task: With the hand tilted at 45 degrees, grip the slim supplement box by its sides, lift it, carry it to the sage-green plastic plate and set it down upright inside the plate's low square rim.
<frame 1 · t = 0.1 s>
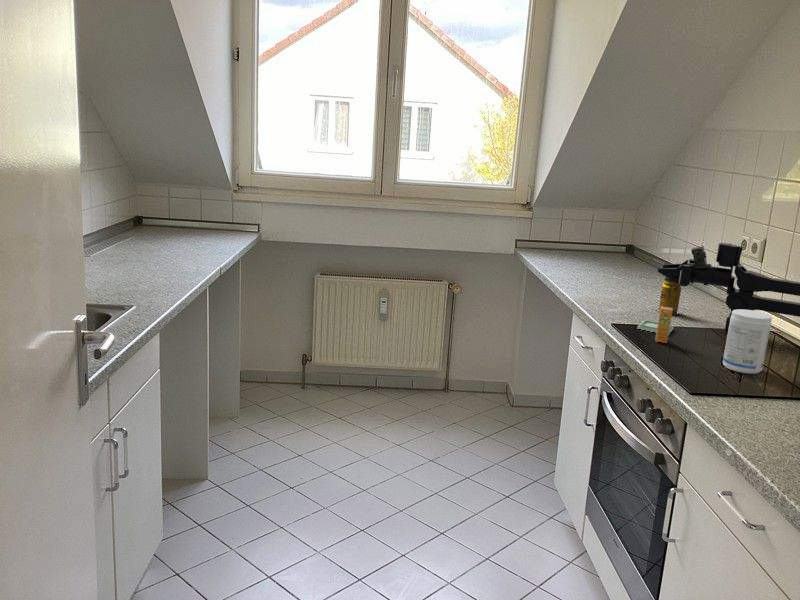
hand: (660, 268, 237), 17 cm above the worktop, tool horizontal, fingers open, 9 cm apart
supplement box: (660, 342, 213), on the worktop
supplement tub: (741, 369, 194), on the worktop
plate: (655, 329, 227), on the worktop
condiment: (670, 313, 252), on the worktop
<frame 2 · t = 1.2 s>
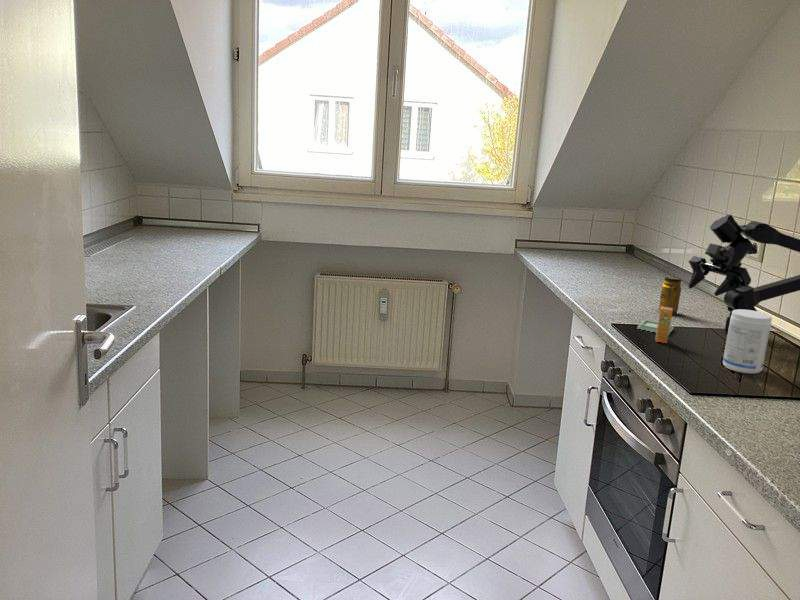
hand: (702, 291, 220), 14 cm above the worktop, tool tilted 45°, fingers open, 9 cm apart
nothing on the worktop moved.
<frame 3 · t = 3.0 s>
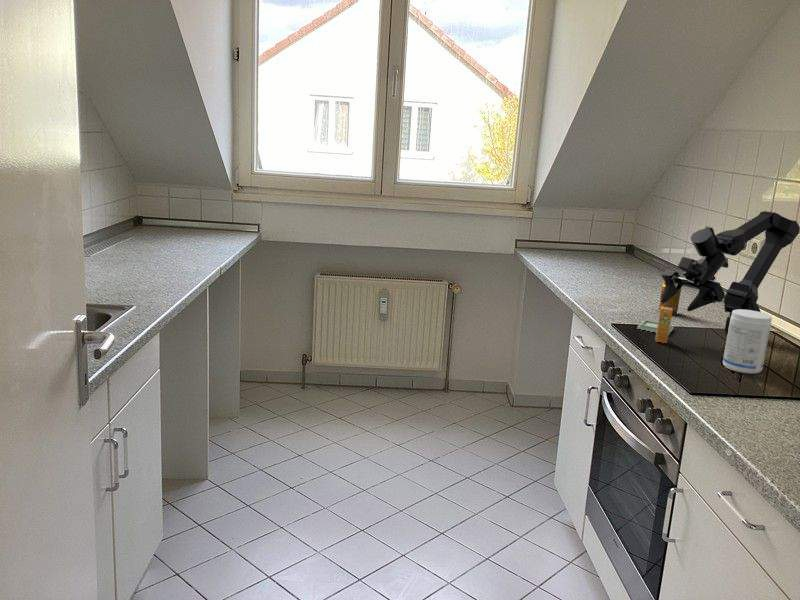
hand: (674, 306, 213), 10 cm above the worktop, tool tilted 45°, fingers open, 9 cm apart
nothing on the worktop moved.
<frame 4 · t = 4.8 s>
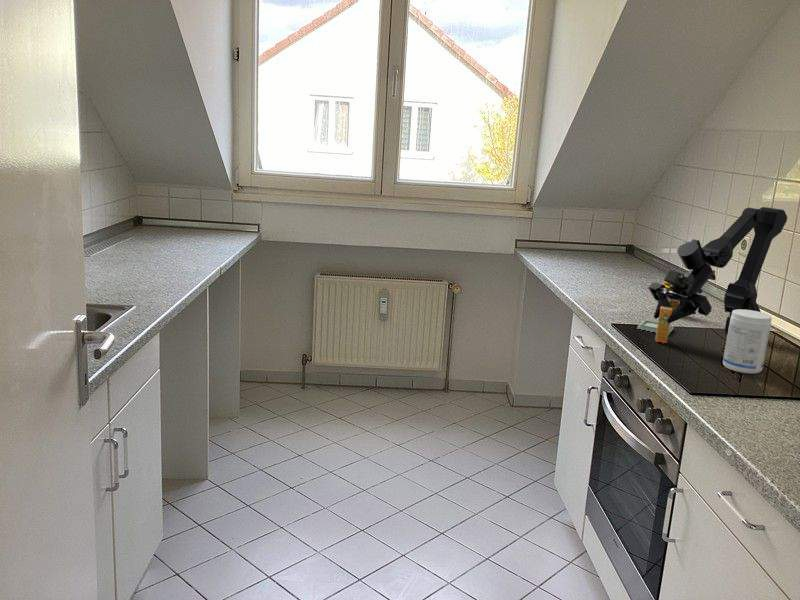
hand: (661, 319, 211), 7 cm above the worktop, tool tilted 45°, fingers closed on supplement box, 4 cm apart
supplement box: (660, 342, 213), on the worktop, touching gripper
everything else where it was.
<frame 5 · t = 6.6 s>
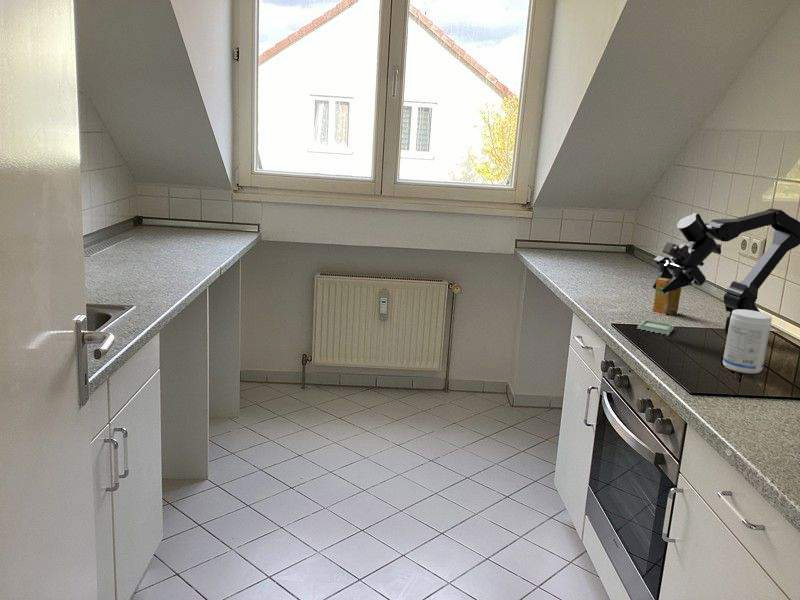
hand: (658, 289, 219), 13 cm above the worktop, tool tilted 45°, fingers closed on supplement box, 4 cm apart
supplement box: (659, 312, 221), point 6 cm above the worktop, touching gripper
everything else where it was.
when the fingers open (8 cm above the worktop, at t = 8.5 s): supplement box stays where it is, resting on plate.
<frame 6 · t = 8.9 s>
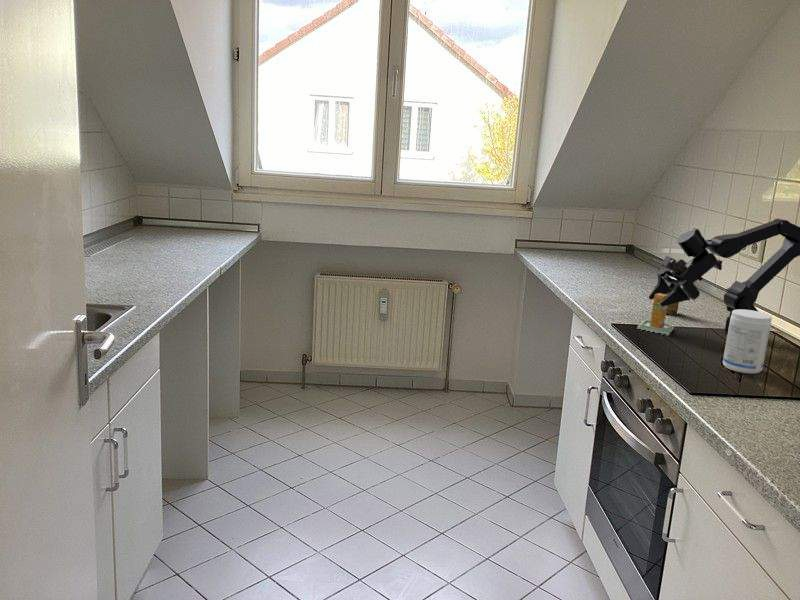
hand: (655, 301, 225), 9 cm above the worktop, tool tilted 45°, fingers open, 8 cm apart
supplement box: (656, 327, 227), point 1 cm above the worktop, touching plate
everything else where it was.
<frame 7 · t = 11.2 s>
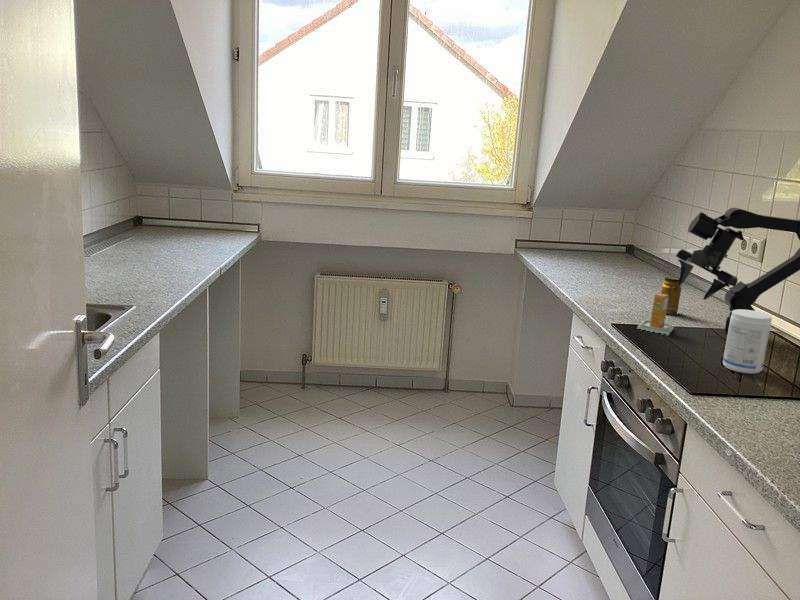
hand: (691, 292, 229), 11 cm above the worktop, tool tilted 20°, fingers open, 9 cm apart
nothing on the worktop moved.
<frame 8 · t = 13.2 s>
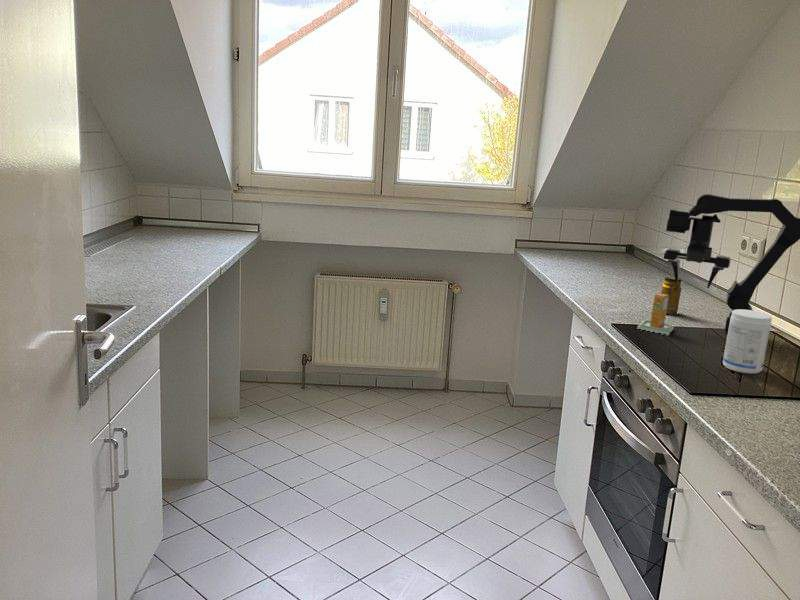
hand: (692, 285, 232), 13 cm above the worktop, tool pointing down, fingers open, 9 cm apart
nothing on the worktop moved.
at the end: supplement box 0.2 cm off-centre on the plate, point 0.8 cm above the plate's base; supplement box tilted 0°; the gripper is holding nothing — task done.
